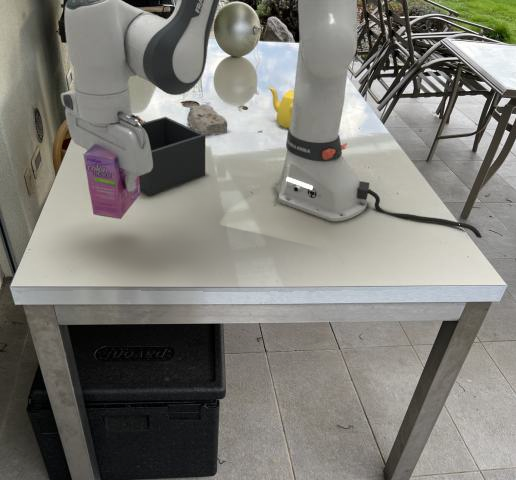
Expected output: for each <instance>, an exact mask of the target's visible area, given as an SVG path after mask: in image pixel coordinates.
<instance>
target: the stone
mask: <svg viewBox="0 0 516 480" xmlns="http://www.w3.org/2000/svg"><path fill="white" fill-rule="evenodd" d="M187 114H188V115H187V118H186V119H187V123H188V125H189V126H190V128H192V129H193V130H195V131H197V132H200V133H202V134H204V135H205V136H211V134H212V135H213V134H214V135H215V134H220V133H225V132H227V131H228V125H229V124H228V120H227V119H226V118H225V117H224V116H223V115H221V114H218V112H217V111H216V110H215V109H214V107H213V106H212V105H208V104H200V105H191V106H189V112H188V113H187Z"/></svg>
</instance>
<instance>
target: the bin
mask: <svg viewBox="0 0 516 480" xmlns="http://www.w3.org/2000/svg"><path fill="white" fill-rule="evenodd" d="M141 126H142V127H143V128H144V130H145V131H146V133H147V135H148V138H149V143H150V147H151V153H152V160H153V168H152V170H151V171H150V172H149V173H146V174H144V175H141V176H139V181H140V190H141V193H143V194H145V195H146V196H148V197H151V196H153V195H156V194H159V193H161V192H164V191H167V190H169V189H172V188H175V187H178V186H180V185H182V184H186V183H187V182H191V181H193V180H196V179H199V178H201V177H204V176H206V134H202V133H200V132H198V131H197V130H195V129H194V128H192V127H189V126H187V125H185V124H183V123H180V122H178V121H176V120H174V119H172V118H170V117H167V116H162V117H159V118H156V119H152V120H147V121H146V122H145V123H141Z"/></svg>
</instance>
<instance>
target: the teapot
mask: <svg viewBox="0 0 516 480" xmlns="http://www.w3.org/2000/svg"><path fill="white" fill-rule="evenodd" d="M267 88H268V89H269V90H270V92H271V94H272V107H273V109H274V111H275V112H276V121H277V124H278V125H279V126H281V127H282V128H284V129H290V124H291V115H292V107H293V98H294V90H293V89H292V90H287V91H286V92H285V93H284V94H283V97H282V99H281V101H279V99H278V92H277V90H276V89H275V88H273V87H271V86H267Z"/></svg>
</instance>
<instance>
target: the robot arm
mask: <svg viewBox="0 0 516 480" xmlns="http://www.w3.org/2000/svg"><path fill="white" fill-rule="evenodd" d="M219 2H220V0H176V3H175V7H174V10H173V12H172V13H171V15H170V16H169V17H168V18H164V17H161V16H159V15H157V14H155V13H152V12H149V11H146V10H144V9H140V8H138V7H136V6H133V5H131V4H129V3H127V2H125V1H123V0H66V2H65V6H64V32H65V40H66V41H65V42H66V48H67V53H68V54H67V55H68V59H69V62H70V64H71V66H72V69H73V76H74V79H73V88H74V89H73V90H69V91H65V92H62V93H61V94H60V100H61V104H62V106H63V107H64V108H65V111H64V112H65V113H64V114H65V119H66V124H67V128H68V133H69V136H70V138H71V139H72V141H73V143H74V144H75V145H77V146H79V147H81V148H82V149H85V150H86V152H87V151H88V150H89V149H90V148H91V147H92V146H93V145H94V144H96V145H98V146H100V147H102V148H104V149H106V150H108V151H109V152H111V153H113V154H114V155H116V156H117V163H118V167H120V168H122V169H123V170H124V174H126V179H125V180H122V182H123V188H124V189H125V190H127V191H129V192H130V191H133V190H135V188H136V185H135V180H136V178H137V176H141V175H144V174H146V173H149V172H150V171H151V170H152V168H153V160H152V153H151V147H150V143H149V138H148V135H147V133H146V131H145V130H144V128H143V127H142V126H141V124H140V122H139V120H137V119H136V118H132V117H131V115H132V114H133V113H132V104H131V102H132V101H131V95H130V84H129V80H130V78H131V77H135V76H138V77H139V78H142V79H143V80H146V81H148V82H149V83H151V85H154V86H155V87H157V88H158V89H159V90H161V91H162V92H163V93H166V94H168V95H171V96H179V95H183V94H185V93H188V92H189V91H190V90H192V89H193V88H194V87H195V86H196V85H197V84H198V83H199V81H200V80H201V78H202V77H203V74H204V71H205V69H206V64H207V59H208V58H207V56H208V48H209V40H210V35H211V31H212V27H213V23H214V20H215V17H216V13H217V9H218V6H219ZM297 9H298V32H299V34H298V35H299V36H298V37H299V40H298V41H299V42H298V52H297V62H296V71H295V78H294V79H295V80H294V90H293V91H294V98H293V107H292V115H291V124H290V128H288V130H287V137H286V142H285V143H286V144H285V147H286V154H285V159H284V164H283V167H282V171H281V175H280V176H279V177H280V178H279V180H278V183H277V184H276V192H277V194H278V199H277V201H278V203H279V204H283V205H285V206H288V207H290V208H294V209H297V210H299V211H302V212H304V213H306V214H307V213H308V214H309V215H313V216H315V217H319V218H322V219H323V220H327V221H328V222H329V221H330V222H335V223H336V222H343V221H346V220H350V219H353V218H354V217H356V216H359V215H360V214H361V213H363V212H364V211H365V210H366V208H367V205H368V200H367V199H368V195H370V196H372V197H373V198H374V200H375V202H374V208H375V210H376V211H377V212H379V213H381V214H385V215H388V216H391V217H394V218H399V219H409V220H415V221H419V222H420V221H421V222H428V223H437V224H442V225H443V224H444V225H448V226H452V227H458V228H463V229H466V230H469V231H471V232H472V233H473V234H474V235H475V237H476V238H478V239H482V238H483V237H482V235H481V233H480V231H479V230H478V229H477V228H476V227H475V226H473V225H471V224H469V223H465V222H459V221H455V220H450V219H446V218H445V219H444V218H437V217H430V216H421V215H417V214H411V213H400V212H399V213H398V212H397V213H396V212H389V211H386V210H384V209H383V208H381V206H380V203H381V198H380V195H378V193H377V192H375V191H374V190H372V189H370V182H366V181H361V180H360V179H359V177H358V175H357V174H356V173H355V172H354V171H353V170H354V169H352V167H351V166H350V165H349V163H348V161H347V160H346V159H345V158H344V156H343V155H342V154H343V150H345V149H347V147H346V146H347V145H348V143H344V144H341V138H340V135H339V133H340V127H341V122H342V117H343V111H344V110H343V109H344V104H345V100H346V99H345V98H346V97H345V96H346V87H347V77H348V71H349V70H348V69H349V67H350V65H351V64H352V62H353V60H354V58H355V55H356V52H357V49H358V0H297ZM459 224H460V225H459Z"/></svg>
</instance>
